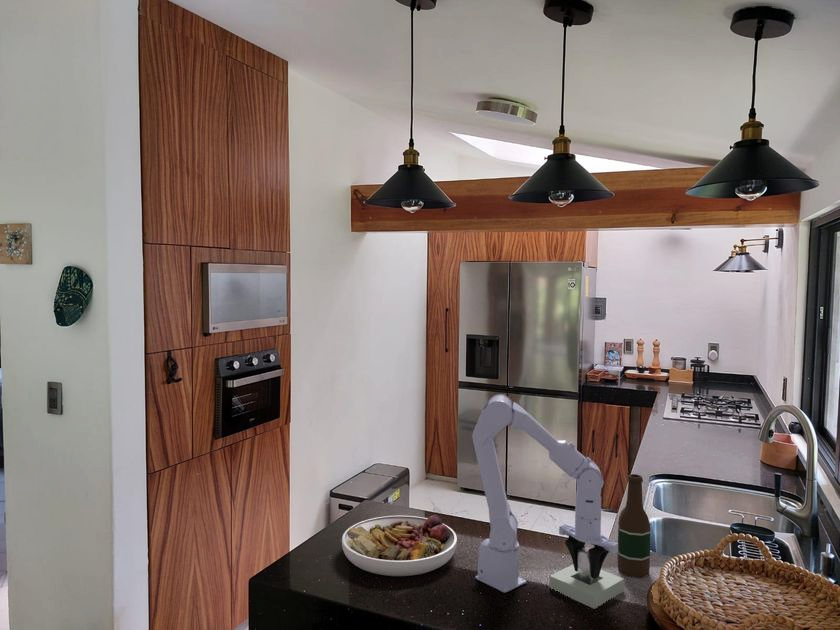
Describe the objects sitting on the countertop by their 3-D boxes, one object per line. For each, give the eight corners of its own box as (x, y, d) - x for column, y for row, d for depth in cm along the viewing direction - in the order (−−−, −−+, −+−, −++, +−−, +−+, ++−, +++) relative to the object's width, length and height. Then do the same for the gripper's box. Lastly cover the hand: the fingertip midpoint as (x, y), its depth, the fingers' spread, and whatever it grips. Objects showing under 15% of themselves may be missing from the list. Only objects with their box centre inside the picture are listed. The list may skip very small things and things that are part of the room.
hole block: (549, 588, 143) (549, 575, 142) (579, 573, 150) (579, 561, 150) (594, 608, 134) (594, 595, 133) (623, 591, 141) (624, 578, 141)
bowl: (389, 595, 140) (389, 561, 139) (319, 551, 162) (319, 522, 162) (480, 558, 159) (481, 528, 159) (407, 524, 182) (407, 498, 181)
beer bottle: (653, 569, 153) (655, 474, 152) (645, 581, 146) (647, 482, 145) (621, 561, 157) (623, 469, 156) (612, 573, 151) (614, 476, 150)
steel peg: (574, 583, 142) (574, 550, 142) (584, 578, 145) (584, 545, 144) (588, 590, 139) (589, 556, 139) (598, 584, 142) (599, 550, 141)
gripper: (625, 520, 138) (624, 579, 139) (571, 503, 149) (570, 558, 150) (608, 528, 134) (607, 589, 134) (554, 509, 145) (553, 566, 145)
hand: (586, 573), depth 142 cm, fingers closed on steel peg, 4 cm apart
